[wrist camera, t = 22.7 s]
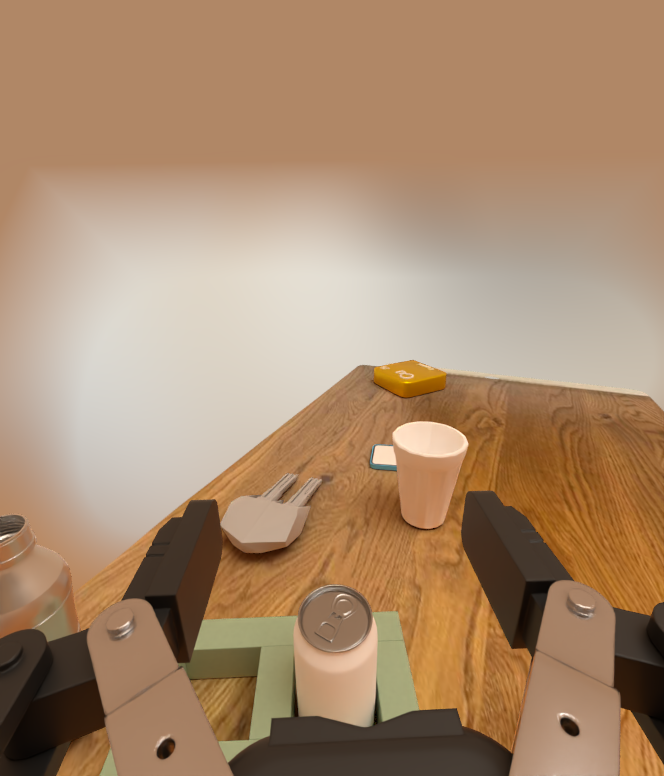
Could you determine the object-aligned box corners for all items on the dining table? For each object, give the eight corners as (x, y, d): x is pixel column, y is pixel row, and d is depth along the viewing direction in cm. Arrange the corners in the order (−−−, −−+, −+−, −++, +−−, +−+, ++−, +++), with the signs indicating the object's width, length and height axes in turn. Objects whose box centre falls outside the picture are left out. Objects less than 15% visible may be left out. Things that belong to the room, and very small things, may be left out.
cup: (381, 531, 55) (385, 449, 50) (394, 490, 63) (398, 417, 59) (456, 548, 52) (468, 462, 47) (459, 502, 60) (468, 426, 56)
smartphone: (373, 443, 76) (453, 448, 73) (373, 449, 76) (453, 454, 74) (369, 464, 69) (457, 470, 66) (369, 470, 70) (457, 476, 67)
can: (386, 702, 35) (392, 602, 30) (350, 783, 29) (351, 677, 25) (325, 663, 38) (322, 568, 33) (283, 730, 33) (273, 628, 28)
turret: (332, 497, 65) (333, 470, 64) (278, 573, 47) (278, 537, 46) (278, 486, 68) (278, 460, 67) (207, 553, 50) (206, 519, 49)
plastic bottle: (103, 661, 38) (47, 489, 31) (119, 723, 33) (57, 536, 26) (21, 708, 35) (-64, 525, 27) (25, 786, 30) (-77, 587, 22)
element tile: (448, 388, 105) (450, 371, 104) (404, 399, 99) (405, 381, 97) (412, 373, 118) (413, 357, 116) (370, 381, 111) (371, 365, 109)
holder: (430, 814, 28) (435, 782, 26) (101, 834, 27) (88, 802, 26) (395, 639, 40) (397, 610, 39) (167, 649, 39) (161, 621, 38)
